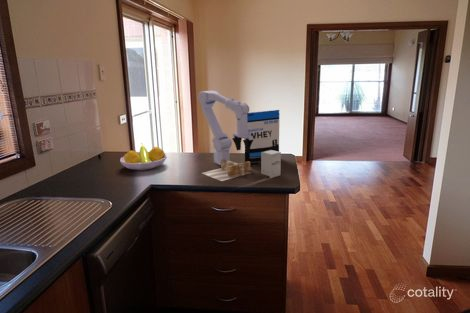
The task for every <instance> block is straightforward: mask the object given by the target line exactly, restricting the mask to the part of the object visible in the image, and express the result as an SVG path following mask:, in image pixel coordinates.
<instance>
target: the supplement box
mask: <svg viewBox="0 0 470 313" xmlns="http://www.w3.org/2000/svg"><path fill="white" fill-rule="evenodd" d="M281 161H282V152H281V151H279V152H278V151H273V150H269V151H265V152H261V164H260V165H261V166H260V168H261V170H260V171H261V172H260V174H262V175H263V176H267V178H268V179H273V178H275V177H276V178H277V177H279V176H281V172H282V171H281V165H282V164H281V163H282V162H281Z"/></svg>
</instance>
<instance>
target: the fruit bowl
mask: <svg viewBox="0 0 470 313" xmlns="http://www.w3.org/2000/svg"><path fill="white" fill-rule="evenodd" d="M140 144H141V146H140V149H139V152H137V151H136V150H129V151H127V153H125V154H123V156H122V157H120V161H119V162H120V164H121V165H122V166H124V167H126V168H127V169H129V170H136V171H141V172H142V171H147V170H151V169H156V168H157V167H160V166H161V165H163V164H164V162H165V161H166V160H167V158H168V156H167V154H166V153H165V152H164V150H163V149H162V148H160V147H159V146H154V147H152V149H150V151H148V150H147V148H146V147H145V145H144V143H143V142H142V143H140Z"/></svg>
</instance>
